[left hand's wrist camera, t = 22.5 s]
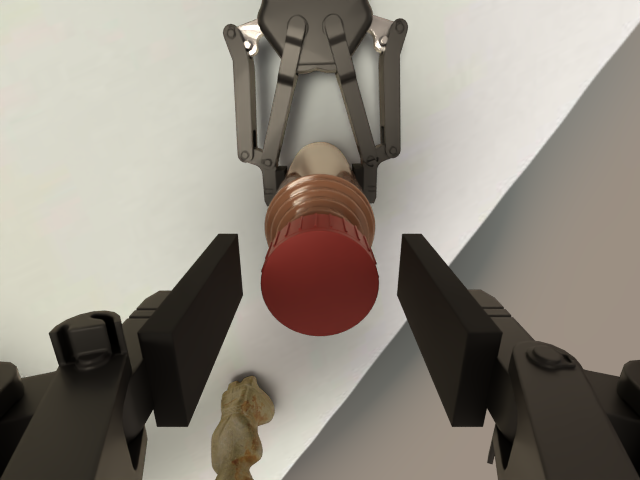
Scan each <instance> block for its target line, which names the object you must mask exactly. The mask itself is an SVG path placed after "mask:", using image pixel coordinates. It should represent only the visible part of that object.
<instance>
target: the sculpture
mask: <svg viewBox="0 0 640 480" xmlns="http://www.w3.org/2000/svg"><path fill="white" fill-rule="evenodd" d="M221 412H222V416H221V421H220V423H219V424H218V426H217V428H216V429H215V431H214V433H213V435H212V440H211V458H212V467H213V469H214V471H215V472H216V473H217V474H218V475H217V477H216V479H215V480H254V479H253V478H252V476H251V474H250V471H249V469H250V467H251V466H252V465H253V464H255V463H256V462H258V461H259V460H260V459H261V457H262V452H263V450H262V444H261V441H260V438H259V436H258V430H257V427H258V426H259V425H263V424H266V423H269V422H270V421H271V420H272V418H273V416H274V405H273V402H272V401H271V399H270V398H269V396H268V395H267V394H266V393H265V392H264V391H262V390H261V389H260V388H259V386H258V385H257V379H256V378H255V377H254V376H249V377H246V378H244V379H243V381H242V382H241V383H240V382H239V381H234V382H232V383H230V384H229V386H228V390H227V391H225V392H224V393H223V395H222V400H221Z"/></svg>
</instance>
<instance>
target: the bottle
mask: <svg viewBox="0 0 640 480" xmlns="http://www.w3.org/2000/svg"><path fill="white" fill-rule="evenodd" d="M315 213H317V214H327V215H329V214H331V215H333V216H337V217H339V218H342V219H343V218H345V220H346V221H348V222H349V223H351V224H352V225H353V226H355V225H356V226H357V229H358V230H359V231H360V232H361V234H362V235H363V236H364V235H365V237H366V239H367V242H368V245H369V247H371V246H372V243H373V239H374V235H375V219H374V214H373V211H372V208H371V205H370V203H369V201H368V199H367V198H366V196H365V194H364V192H363V190H362V188H361V186H360V184H359V183H358V181H357V179H356V177H355V175H354V173H353V171H352V170H351V168H350V166H349V164H348V162H347V160H346V158H345V156H344V155H343V153H342V152H341V151H340V150H339V149H338V148H337V147H335V146H334V145H331V144H329V143H325V142H315V143H311V144H308V145H306V146H305V147H303V148H302V149H301V150H300V151H299V152H298V153H297V155H296V156H295V158H294V160H293V162H292V164H291V166H290V167H289V169H288V171H287V173H286V175H285V177H284V179H283V180H282V182H281V184H280V186H279V188H278V190H277V192H276V193H275V195H274V197H273V199H272V201H271V203H270V205H269V207H268V210H267V213H266V217H265V235H266V240H267V243H268V247H269V246H270V244H271V242H273V241H274V239H275V237H276V235H277V233H278V231H281V230H282V229H283V228H284V227H285V226H286V225H287V224H288V222H292V221H294V220H296V219H298V218H300V216H307V215H313V214H315Z"/></svg>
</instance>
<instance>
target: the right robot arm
mask: <svg viewBox="0 0 640 480" xmlns="http://www.w3.org/2000/svg"><path fill="white" fill-rule="evenodd" d="M407 30H408V25H407V22H406V21H405V20H404V19H400V18H399V19H396V20H395V21H390V20H387V19H384V18H381V17H378V16H374V15H373V12H372V9H371V6H370V5H369V2H368V0H262V4H261V7H260V10H259V12H258V17H257V19H256V20H253V21H251V22H248V23H245V24H243V25H240V26H238V27H236V26H235V25H233V24H228V25H227V26H225V28H224V30H223V35H224V38H225V41H226V44H227V46H228V49H229V52H230V54H231V57H232V60H233V72H234V92H235V111H236V130H237V150H238V158H239V159H240V160H241V161H242V162H245V163H246V162H248V163H251V164H254V165H257V166H258V167H260V169H261V170H262V174H263V186H264V197H265V202H266V204H267V206H269V205H270V203H271V201H272V199H273V197H274V195H275V193H276V192H277V190H278V188H279V186H280V184H281V182H282V180H283V179H284V177H285V175H286V173H287V166H278V161H279V156H280V151H281V147H282V143H283V138H284V134H285V130H286V125H287V121H288V116H289V112H290V108H291V103H292V99H293V95H294V90H295V87H296V83H297V79H298V75H299V74H307V73H310V72H313V71H321V72H325V73H335V74H336V78H337V81H338V84H339V87H340V90H341V93H342V97H343V100H344V104H345V107H346V111H347V114H348V117H349V121H350V124H351V128H352V131H353V134H354V138H355V141H356V145H357V148H358V151H359V155H360V158H361V164H352V171H353V173H354V175H355V177H356V179H357V181H358V183H359V184H360V186H361V188H362V190H363V192H364V194H365V196H366V198H367V199H368V201H369V203H374V201H375V199H376V183H377V167H378V165H379V164H380V163H381V162H383V161H385V160H387V159H390V158H395V157H397V156H398V155H399V154H400V53H401V50H402V46H403V43H404V40H405V37H406V34H407ZM367 32H368V33H370V34H371V35H372V37H373V46H374V49H375V50H376V51H377V52H379V53H380V56H379V100H380V138H381V144H379V145H377V146H375V145H374V141H373V138H372V134H371V131H370V127H369V123H368V120H367V116H366V112H365V109H364V105H363V102H362V98H361V94H360V91H359V87H358V84H357V80H356V74H355V70H354V66H353V62H352V59H351V57H352V55H353V54H354V52H355V50H356V49H357V47H358V46H359V44H360V43H361V41H362V39H363V38H364V36H365V35H366V33H367ZM262 36H265V37H266V39H267V40H268V42H269V43H270V44H271V46H272V47H273V48H274V50H275V51H276V53H277V54H278V55H279V57H280V58H281V63H280V68H279V73H278V81H277V86H276V91H275V96H274V101H273V105H272V110H271V115H270V119H269V124H268V129H267V134H266V138H265V143H264V148H263V149H260V148H257V120H256V90H255V67H254V61H253V56H255V55H256V54H257V53H258V51H259V46H258V42H259V39H260V38H261V37H262Z"/></svg>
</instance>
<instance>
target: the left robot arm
mask: <svg viewBox="0 0 640 480" xmlns="http://www.w3.org/2000/svg"><path fill="white" fill-rule="evenodd" d="M242 296H243V290H242V278H241V266H240V255H239V243H238V234H218V235H217V236H216V238H215V239H214V240H213V241H212V242H211V244H210V245H209V246H208V247H207V248H206V250H205V251H204V252H203V253H202V255H201V256H200V257H199V258H198V259H197V261H196V262H195V263H194V264H193V265H192V267H191V268H190V269H189V270H188V271H187V273H186V274H185V275H184V276H183V278H182V279H181V280H180V281H179V282H178V284H177V285H176V286H175V287H174V288H173V290H172V291H158V292H157V293H155V294H153V295H151V296H150V297H148V298H146V299H145V300H144V301H143V302H142V303H141V304H140V305H139V306H138V308H137V310H135V311H134V312H133V313H132V314H131V315H130V316H129V319H126V320H125V322H124V323H123V324H122V323H121V319H120V316H119V315H118V314H116V313H115V312H110V311H93V312H89V313H84V314H80V315H77V316H75V317H72V318H70V319H67V320H65V321H64V322H62V323H60V324H59V325H57V326H55V327H54V328H53V329H52V330H51V331H50V332H49V336H50V339H51V342H52V345H53V348H54V352H55V355H56V358H57V361H58V364H59V367H58V369H57V371H55V372H50V373H46V374H41V375H36V376H31V377H26V378H20V375H19V372H18V369H17V367H16V366H15V365H14V364H12V363H11V362H0V480H142V476H143V469H144V461H145V454H146V446H147V433H146V428H145V423H146V421H147V419H148V418H149V416H150V414H151V412H152V410H154V415H155V419H156V424H157V427H188V425H189V423H190V421H191V418H192V416H193V413H194V411H195V409H196V406H197V404H198V401H199V399H200V397H201V394H202V392H203V389H204V387H205V385H206V382H207V380H208V378H209V375H210V373H211V370H212V368H213V366H214V363H215V361H216V358H217V356H218V354H219V351H220V349H221V346H222V344H223V342H224V339H225V337H226V334H227V332H228V330H229V327H230V325H231V322H232V320H233V318H234V315H235V313H236V311H237V308H238V306H239V303H240V301H241V299H242ZM397 296H398V299H399V301H400V303H401V306H402V308H403V311H404V313H405V315H406V318H407V320H408V322H409V325H410V327H411V330H412V332H413V334H414V337H415V339H416V342H417V344H418V346H419V349H420V351H421V354H422V356H423V358H424V361H425V363H426V366H427V368H428V370H429V373H430V375H431V377H432V380H433V382H434V385H435V387H436V389H437V392H438V394H439V397H440V399H441V401H442V404H443V406H444V409H445V411H446V413H447V416H448V418H449V421H450V423H451V425H452V427H483V424H484V419H485V415H486V410H487V409H488V410H489V412H490V414H491V416H492V418H493V419H494V421H495V423H496V424H495V428H494V433H493V437H492V441H491V446H490V450H489V455H488V462H487V463H490V464H493V460H494V456H495V460H496V468H497V475H498V480H640V360H634V361H629V362H627V363H626V364H624V367H623V369H622V372H621V375H620V377H618V376H613V375H608V374H603V373H597V372H592V371H588V370H584V369H583V368H582V366H581V365H580V363H579V362H578V361H577V360H576V359H575V358H574V357H573V356H572V355H570V354H569V353H567V352H566V351H565V350H562V349H560V348H558V347H556V346H554V345H551V344H547V343H544V342H540V341H535V340H534V339H533V338H532V337H531V336H530V335H529V334H528V333H527V332H526V331H525V330H524V329H523V327H522V326H521V325H520V324H519V323H518V322H517V321H516V320H515V319H514V318H513V317H511V315H510V314H509V312H508V311H507V310H506V309H504V307H503V306H502V305H501V304H500V303H499V302H498V301H497V300H496V299H495V298H494V297H493V296H491V295H489V294H487V293H486V292H484V291H482V290H467V288H466V287H465V286H464V285H463V284H462V283H461V281H460V280H459V279H458V278H457V276H456V275H455V274H454V273H453V271H452V270H451V269H450V268H449V267H448V265H447V264H446V263H445V262H444V261H443V259H442V258H441V257H440V256H439V255H438V253H437V252H436V251H435V250H434V248H433V247H432V246H431V245H430V244H429V242H428V241H427V240H426V239H425V238H424V236H423V235H422V234H402V243H401V255H400V266H399V278H398V290H397Z"/></svg>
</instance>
